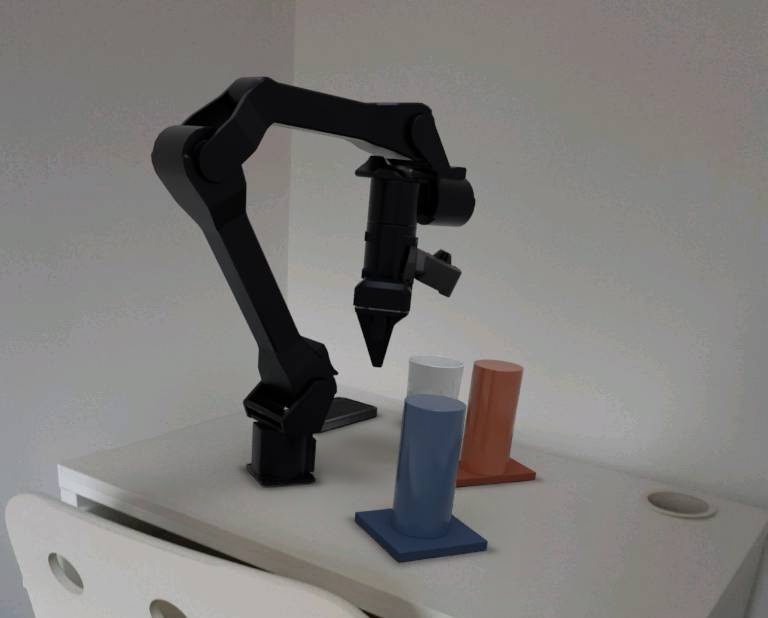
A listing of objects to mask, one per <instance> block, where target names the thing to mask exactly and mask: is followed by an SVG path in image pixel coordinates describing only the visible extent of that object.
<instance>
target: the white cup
mask: <svg viewBox="0 0 768 618" xmlns="http://www.w3.org/2000/svg"><path fill="white" fill-rule="evenodd" d="M464 369H465V362H463V361H461V360H459V359H457V358H453V357H450V356H444V355H438V354H413V355H411V356H409V357H408V369H407V370H408V371H407V383H406V385H407V386H406V397H407V396H410V395H417V394H432V395H440V396H446V397H450V398H454V399H457V400H459V397H460V391H461V385H462V381H463V376H464V375H463V374H464Z"/></svg>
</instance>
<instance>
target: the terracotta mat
mask: <svg viewBox="0 0 768 618" xmlns="http://www.w3.org/2000/svg"><path fill="white" fill-rule="evenodd" d="M459 463H460V460H459ZM536 477H537V472H536V471H535V470H533V469H532V468H529V467H528V466H526V465H525V464H522V463H521V462H519V461H517V460H516V459H514V458H513V457H511V456H510V457H509V463H508V469H507V472H506V473H505V474H503V475H499V476H484V475H478V474H474V473H470V472H468V471H466V470H464V469H462V468H461V467H460V465H458V473H457V480H456V487H455V488H461V487H462V488H463V487H471V486H480V485H491V484H492V485H493V484H504V483H511V482H524V481H525V482H526V481H534V480H536Z"/></svg>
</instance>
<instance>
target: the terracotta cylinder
mask: <svg viewBox="0 0 768 618" xmlns="http://www.w3.org/2000/svg"><path fill="white" fill-rule="evenodd" d="M524 369H525V368H524V367H523V366H522V365H520V364H517V363H514V362H511V361H505V360H500V359H476V360H474V361H473V362H472V371H471V376H470V377H471V378H470V385H469V392H468V397H467V398H468V399H467V405H466V406H467V408H466V415H465V422H464V430H463V437H462V444H461V451H460V458H459V461H460V463H459V465H460V467H461V468H462V469H464V470H466V471H468V472H470V473H474V474H478V475H484V476H499V475H503V474H505V473H506V472H507V469H508V463H509V457H510V458H511V456H510V455H511V449H512V443H513V438H514V431H515V425H516V419H517V413H518V407H519V400H520V394H521V389H522V382H523V378H524V377H523V376H524V371H525V370H524Z"/></svg>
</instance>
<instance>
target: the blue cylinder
mask: <svg viewBox="0 0 768 618" xmlns="http://www.w3.org/2000/svg"><path fill="white" fill-rule="evenodd" d="M403 399H404V400H403V409H402V417H401V427H400V434H399V445H398V453H397V462H396V471H395V481H394V488H393V489H394V491H393V499H392V517H391V525H392V527H393V528H394V529H395V530H396V531H398V532H400V533H402V534H404V535H407V536H411V537H416V538H438V537H442V536H444V535H446V534H447V533H448V532H449V530H450V523H451V516H452V515H453V508H454V500H455V494H456V488H457V487H456V480H457V473H458V465H459V461H460V456H461V449H462V441H463V434H464V427H465V420H466V413H467V406H468V405H467V404H466V403H465V402H463V401H461V400H460V399H458V400H457V399H454V398H450V397H446V396H440V395H432V394H417V395H410V396H407V395H406V397H405V398H403Z"/></svg>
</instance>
